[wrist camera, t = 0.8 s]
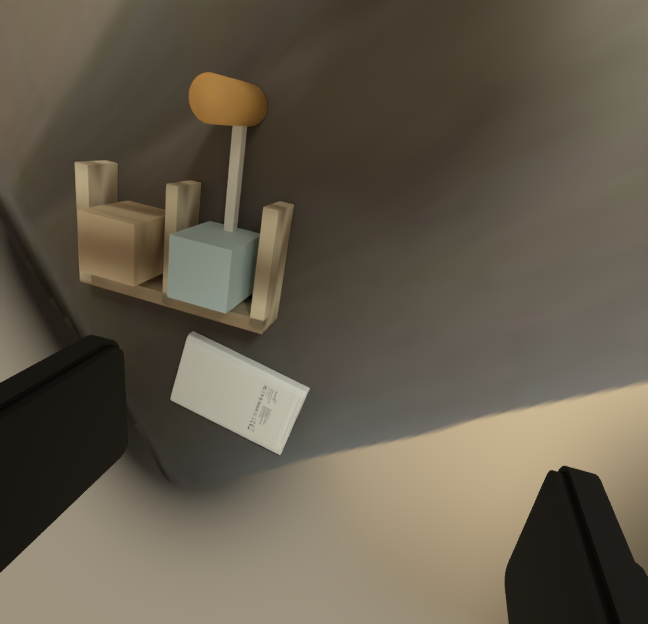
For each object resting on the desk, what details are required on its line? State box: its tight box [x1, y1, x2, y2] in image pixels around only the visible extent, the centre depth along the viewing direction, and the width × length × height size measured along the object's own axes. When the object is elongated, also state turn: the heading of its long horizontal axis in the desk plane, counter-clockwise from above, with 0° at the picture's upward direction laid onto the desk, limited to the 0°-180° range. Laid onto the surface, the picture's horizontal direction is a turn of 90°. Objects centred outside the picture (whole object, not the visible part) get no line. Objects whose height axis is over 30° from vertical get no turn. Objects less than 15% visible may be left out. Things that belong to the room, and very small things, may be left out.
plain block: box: [77, 201, 165, 287], centre depth 37 cm, size 5×5×6 cm
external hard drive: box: [170, 331, 310, 455], centre depth 43 cm, size 2×8×12 cm
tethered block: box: [167, 72, 267, 314], centre depth 34 cm, size 16×5×6 cm, turn 170°
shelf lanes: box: [75, 160, 294, 334], centre depth 38 cm, size 10×17×4 cm, turn 80°
